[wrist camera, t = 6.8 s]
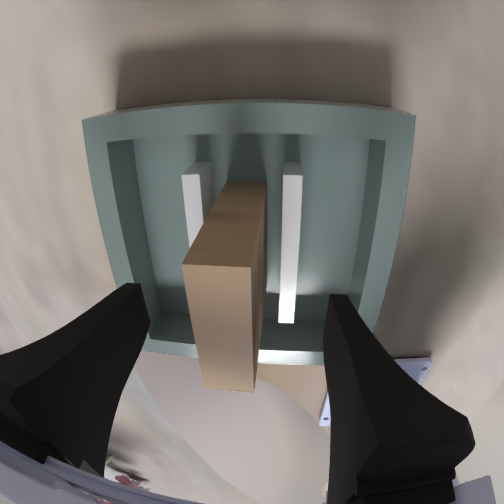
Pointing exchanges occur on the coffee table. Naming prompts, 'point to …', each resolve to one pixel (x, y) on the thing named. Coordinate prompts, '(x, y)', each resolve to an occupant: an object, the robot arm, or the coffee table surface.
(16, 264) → the coffee table surface
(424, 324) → the coffee table surface
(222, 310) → the wood block
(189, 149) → the slotted divider tray
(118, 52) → the coffee table surface
